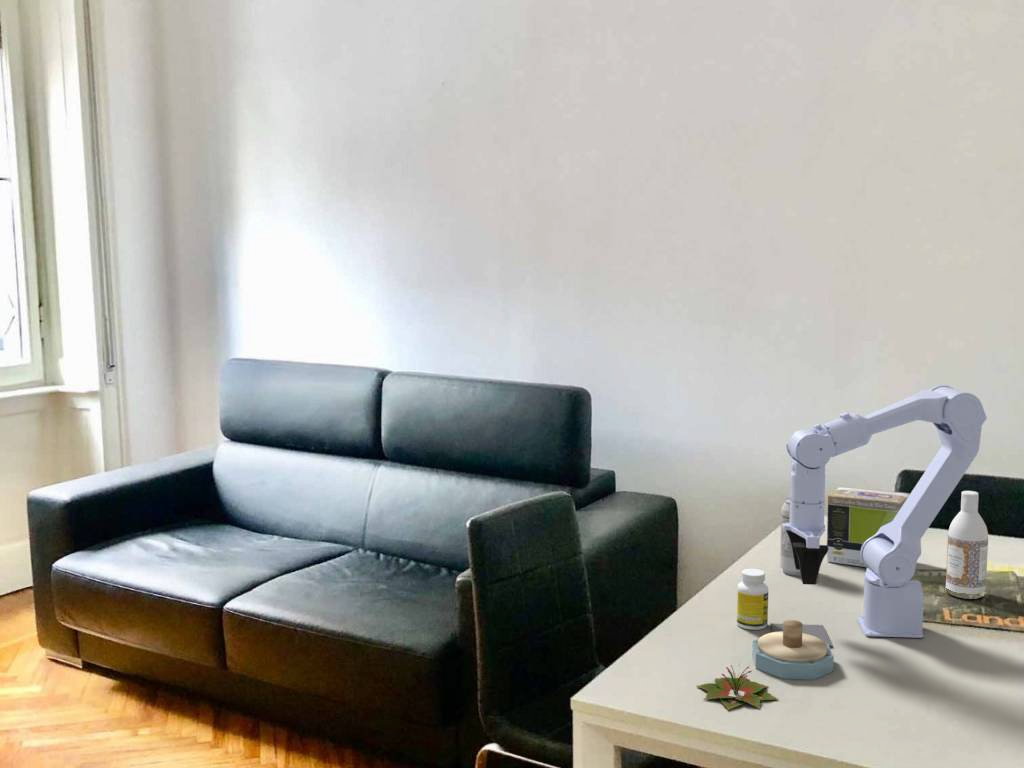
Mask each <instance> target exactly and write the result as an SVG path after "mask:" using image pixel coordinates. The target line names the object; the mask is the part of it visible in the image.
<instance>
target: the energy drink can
mask: <svg viewBox="0 0 1024 768" xmlns="http://www.w3.org/2000/svg"><path fill="white" fill-rule="evenodd" d="M780 509H781V513H780V515H781V516H780V554H779V555H780V561H779V562H780V565H779V567H780V568H781V569H782V573H784V574H786V575H790V576H798V577H799V576H800V577H801V574H800V570H796V567H795V563H794V557H793V550H792V546H791V542H790V539H789V536H788V534H787V532H786V530H784V529H783V527H782V524H783V523H789V522H790V497H788V498H785V499H784V503H783V504H782V506H781V508H780Z"/></svg>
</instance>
